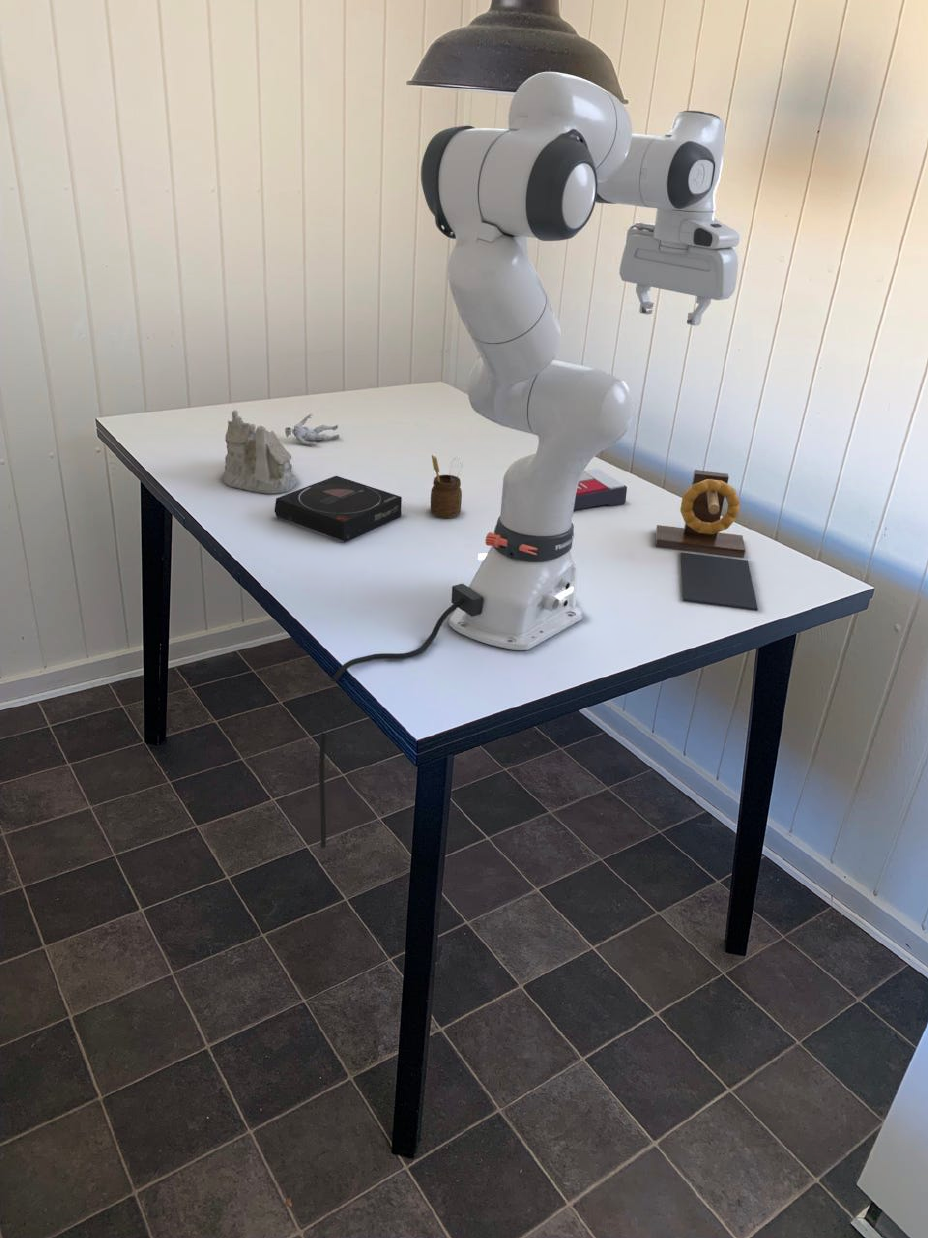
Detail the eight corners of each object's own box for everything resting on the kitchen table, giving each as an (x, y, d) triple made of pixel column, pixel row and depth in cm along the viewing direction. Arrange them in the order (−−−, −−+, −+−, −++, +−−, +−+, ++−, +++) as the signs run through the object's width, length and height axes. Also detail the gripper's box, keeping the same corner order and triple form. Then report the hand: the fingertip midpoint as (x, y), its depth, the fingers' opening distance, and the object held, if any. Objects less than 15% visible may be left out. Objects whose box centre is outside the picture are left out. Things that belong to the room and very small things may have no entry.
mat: (757, 610, 156) (757, 608, 156) (683, 600, 158) (683, 598, 157) (747, 562, 173) (748, 560, 172) (680, 554, 174) (680, 552, 174)
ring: (733, 534, 171) (744, 481, 166) (733, 538, 169) (745, 485, 165) (676, 527, 172) (686, 474, 168) (676, 531, 171) (686, 478, 166)
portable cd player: (333, 493, 190) (333, 474, 188) (401, 516, 182) (401, 496, 180) (274, 517, 178) (273, 497, 176) (343, 543, 170) (343, 522, 168)
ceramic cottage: (272, 497, 186) (270, 420, 180) (207, 482, 193) (202, 408, 186) (319, 479, 199) (318, 407, 192) (256, 465, 205) (254, 395, 199)
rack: (655, 532, 183) (667, 464, 176) (741, 542, 181) (755, 474, 174) (655, 567, 169) (667, 495, 162) (748, 578, 167) (764, 506, 160)
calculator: (536, 476, 195) (599, 465, 201) (535, 495, 197) (597, 484, 203) (564, 495, 187) (628, 483, 192) (562, 515, 189) (626, 503, 194)
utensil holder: (466, 516, 184) (470, 456, 178) (438, 521, 181) (441, 460, 175) (450, 505, 188) (454, 446, 183) (423, 510, 185) (425, 451, 179)
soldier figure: (342, 448, 217) (296, 438, 210) (331, 457, 221) (285, 448, 213) (337, 417, 220) (291, 407, 212) (326, 427, 223) (281, 417, 215)
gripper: (617, 220, 154) (606, 309, 161) (727, 238, 142) (711, 333, 148) (640, 219, 158) (629, 305, 165) (749, 236, 146) (732, 328, 152)
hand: (668, 318), depth 157 cm, fingers open, 8 cm apart
